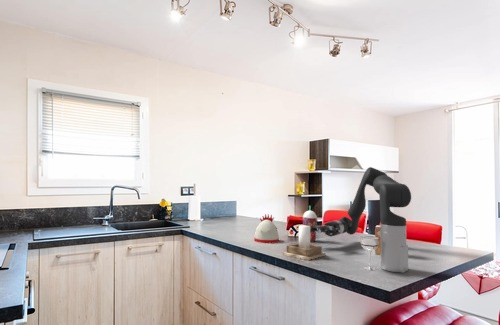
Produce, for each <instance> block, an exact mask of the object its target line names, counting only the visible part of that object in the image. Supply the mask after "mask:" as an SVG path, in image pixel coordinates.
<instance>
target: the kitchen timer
mask: <svg viewBox="0 0 500 325" xmlns="http://www.w3.org/2000/svg"><path fill="white" fill-rule="evenodd" d="M259 219H260V223H259V224H258V225H257V227H256V229H255V233H254V236H253V240H254V242H257V243H261V244H275V243H279V241H280V236H279V232H278V228H277V227H276V225H275V223H274V222H273V221H274V220H275V217H273V215H272V214H270V216H269V213H268V214H266V213H265V215H262V218H261V217H260V218H259Z"/></svg>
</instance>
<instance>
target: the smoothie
mask: <svg viewBox="0 0 500 325" xmlns="http://www.w3.org/2000/svg"><path fill="white" fill-rule="evenodd" d="M308 208H309V209H308V210H306V211H304V213H303V215H302V225H304V226H310V228H311V226H316V225H318V216H317V214H316V212H315V211H313V210H311V205H309V206H308ZM316 239H317V232H310V243H314V242H315V241H316Z"/></svg>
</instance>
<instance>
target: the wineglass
mask: <svg viewBox="0 0 500 325" xmlns="http://www.w3.org/2000/svg"><path fill="white" fill-rule="evenodd" d="M360 238H361V239H360V246H361V247H362V248H363V249H364V250H365V251H366V252H368V265H367V266H363V267H362V269H364V270H367V271H377V268H376V267H372V266H371V253H372V252H373V251H375V249H376V248H377V247H378V245H379V242H378V238H377V237H375V236H372V235H370V236H369V235H362V236H360Z"/></svg>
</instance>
